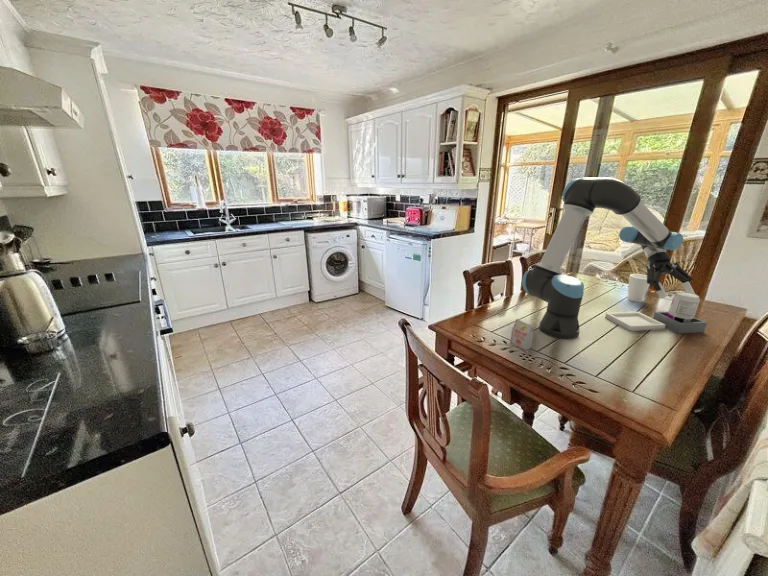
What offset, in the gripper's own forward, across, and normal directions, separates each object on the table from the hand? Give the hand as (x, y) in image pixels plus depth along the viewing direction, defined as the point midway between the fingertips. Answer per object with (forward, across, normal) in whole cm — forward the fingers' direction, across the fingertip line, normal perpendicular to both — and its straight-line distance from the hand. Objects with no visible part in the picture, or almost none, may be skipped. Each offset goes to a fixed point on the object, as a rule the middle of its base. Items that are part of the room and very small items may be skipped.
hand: (678, 296), depth 137 cm
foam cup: (-10, -7, -28) cm, 30 cm away
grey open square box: (+12, +1, -6) cm, 13 cm away
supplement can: (+12, +1, -6) cm, 13 cm away
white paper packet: (+18, +77, 0) cm, 79 cm away
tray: (+8, +17, -9) cm, 21 cm away
